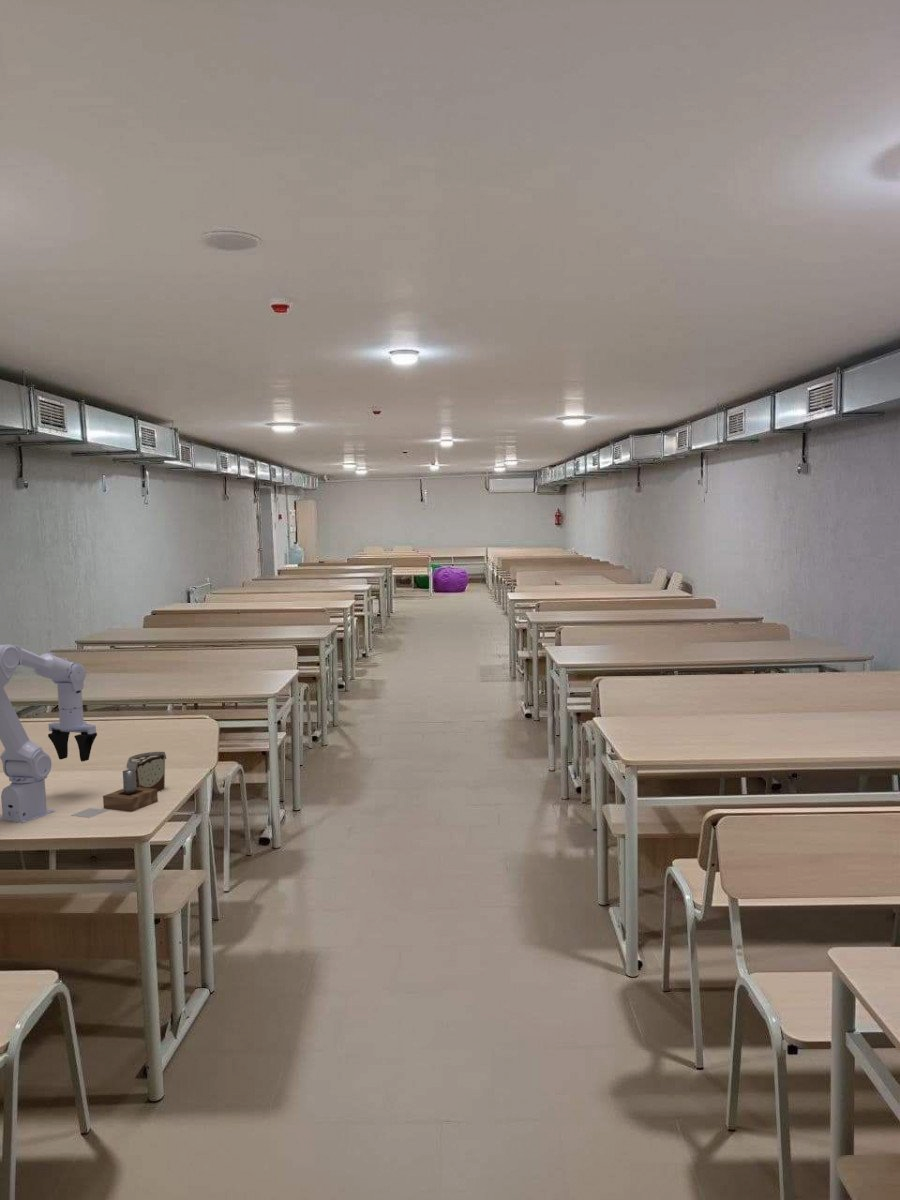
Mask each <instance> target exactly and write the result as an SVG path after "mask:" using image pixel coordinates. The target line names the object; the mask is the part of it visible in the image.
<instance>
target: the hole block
mask: <svg viewBox="0 0 900 1200" xmlns="http://www.w3.org/2000/svg"><path fill="white" fill-rule="evenodd" d="M136 789H137V794H134V795H131V796H128V795H124V788H121V789H118V790H115V791H113V792H109V793H107V794H104V795H102V801H103V802H102V803H103V810H114V811H122V812H131V813H132V812H135V811H138V810H140V809H142V808H145V807H147V806H150V805H152V804H155V803H158V802H159V799H158V798H159V797H158V795H159V794H158V792H157V789H151V788H141V787H136Z"/></svg>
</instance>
